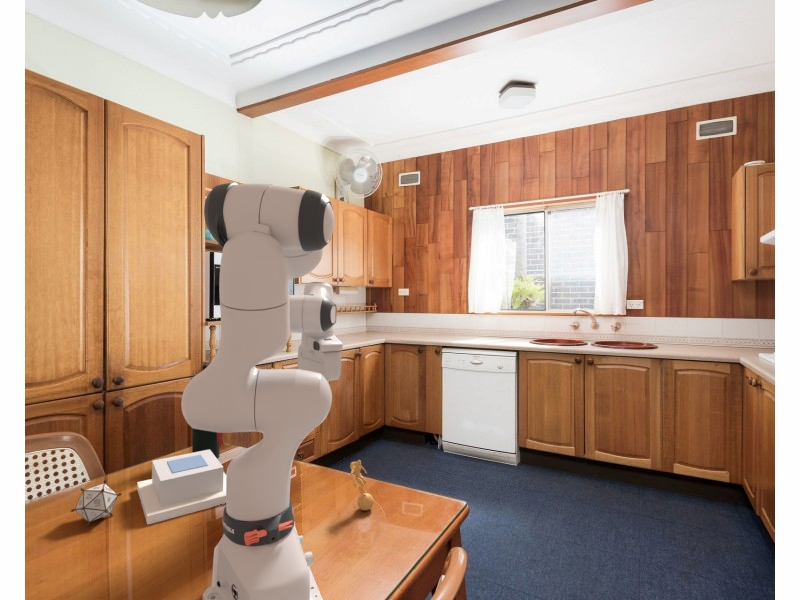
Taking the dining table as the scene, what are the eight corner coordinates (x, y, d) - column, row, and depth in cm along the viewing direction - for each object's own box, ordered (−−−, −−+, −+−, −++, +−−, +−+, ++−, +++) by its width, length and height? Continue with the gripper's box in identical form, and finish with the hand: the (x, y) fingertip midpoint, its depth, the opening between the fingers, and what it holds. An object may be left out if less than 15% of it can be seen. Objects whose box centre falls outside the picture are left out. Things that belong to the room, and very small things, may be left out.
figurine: (368, 519, 101) (369, 469, 101) (343, 516, 102) (344, 466, 102) (377, 502, 109) (378, 455, 109) (355, 499, 111) (356, 452, 110)
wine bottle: (212, 466, 128) (213, 365, 127) (185, 460, 132) (186, 362, 131) (231, 456, 136) (231, 360, 135) (205, 451, 139) (205, 358, 138)
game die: (99, 530, 101) (116, 484, 107) (117, 528, 97) (134, 480, 102) (56, 525, 95) (77, 477, 101) (73, 522, 91) (94, 472, 96)
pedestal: (238, 499, 109) (239, 467, 109) (147, 524, 97) (147, 488, 97) (218, 471, 125) (218, 443, 125) (137, 489, 113) (137, 458, 113)
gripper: (292, 337, 126) (291, 384, 127) (324, 346, 110) (323, 400, 111) (312, 336, 130) (311, 382, 131) (346, 344, 114) (345, 397, 114)
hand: (317, 390), depth 120 cm, fingers closed on walnut block, 5 cm apart
